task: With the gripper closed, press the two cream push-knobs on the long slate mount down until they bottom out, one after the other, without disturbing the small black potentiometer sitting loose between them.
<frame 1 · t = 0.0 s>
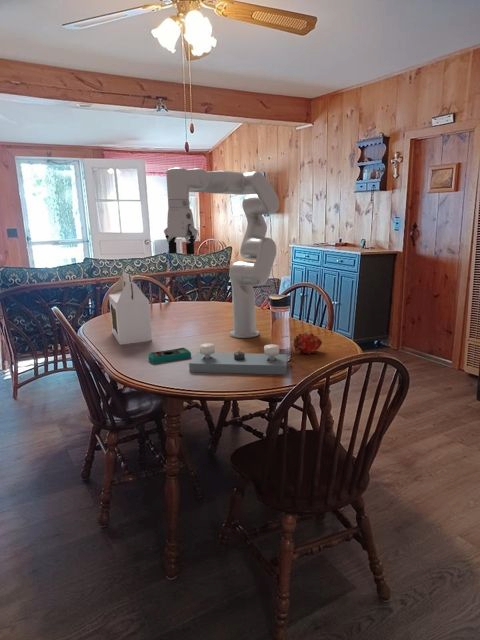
hand: (181, 253, 163), 37 cm above the table, tool pointing down, fingers open, 9 cm apart
knob a: (207, 353, 155), point 5 cm above the table, slide at 0.0 cm
digital multimeter: (170, 359, 166), on the table
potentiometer: (239, 358, 154), point 3 cm above the table, touching mount board
mount board: (239, 367, 154), on the table
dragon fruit: (307, 353, 168), on the table
knob b: (271, 354, 152), point 5 cm above the table, slide at 0.0 cm
gable box: (131, 337, 197), on the table
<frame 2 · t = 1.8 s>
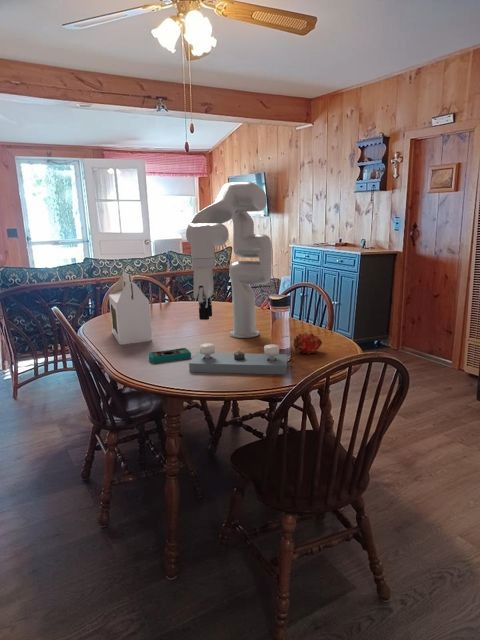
hand: (205, 317, 152), 17 cm above the table, tool pointing down, fingers open, 4 cm apart
nothing on the table moved.
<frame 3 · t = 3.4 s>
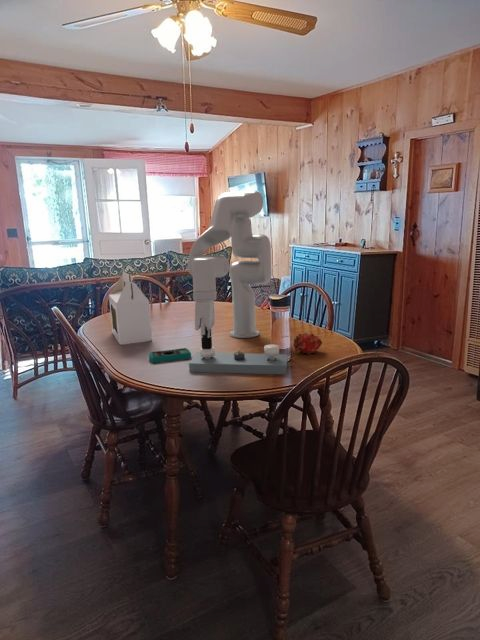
hand: (206, 348, 154), 7 cm above the table, tool pointing down, fingers closed
knob a: (207, 355, 155), point 4 cm above the table, slide at 1.0 cm, touching gripper
everything else where it was.
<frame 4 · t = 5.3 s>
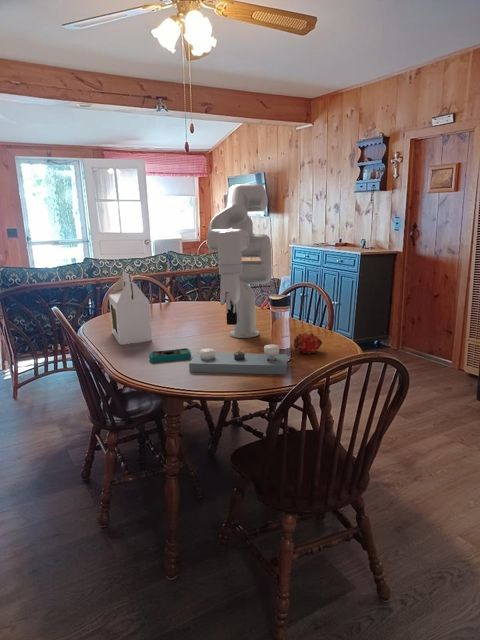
hand: (232, 324, 151), 15 cm above the table, tool pointing down, fingers closed
knob a: (207, 358, 155), point 3 cm above the table, slide at 1.8 cm
everything else where it was.
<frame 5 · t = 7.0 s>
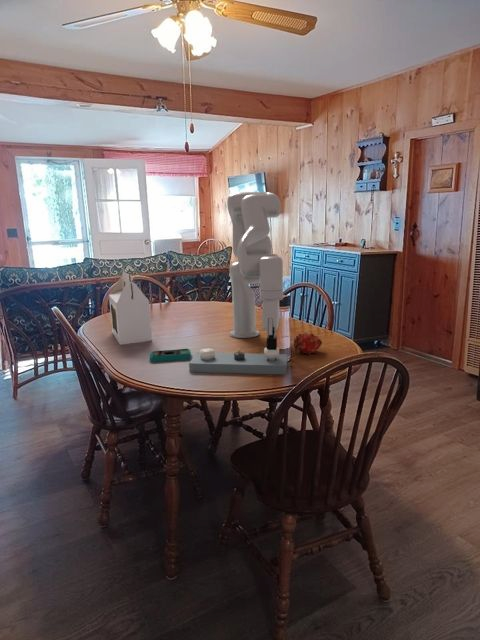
hand: (271, 348, 151), 7 cm above the table, tool pointing down, fingers closed
knob b: (271, 356, 152), point 4 cm above the table, slide at 0.8 cm, touching gripper
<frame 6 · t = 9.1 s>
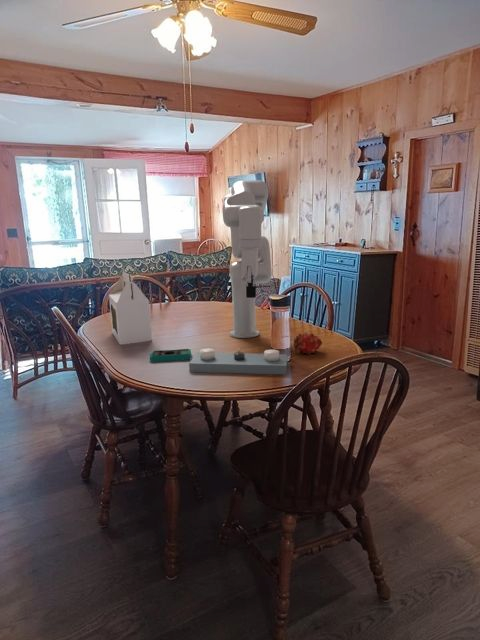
hand: (251, 297, 157), 23 cm above the table, tool pointing down, fingers closed
knob b: (271, 359, 152), point 3 cm above the table, slide at 1.8 cm
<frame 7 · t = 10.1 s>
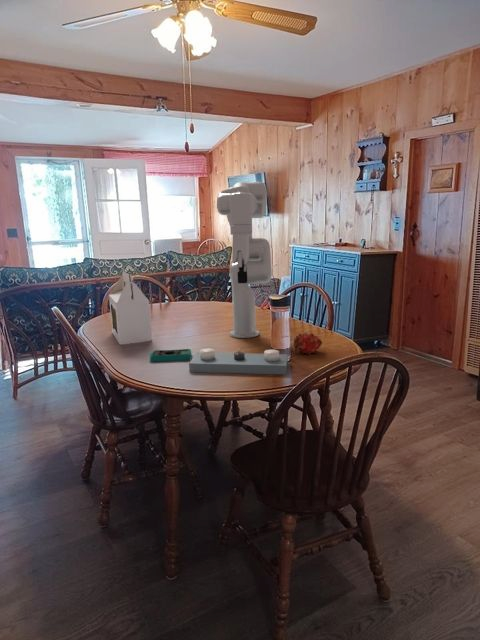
hand: (242, 282, 160), 27 cm above the table, tool pointing down, fingers closed
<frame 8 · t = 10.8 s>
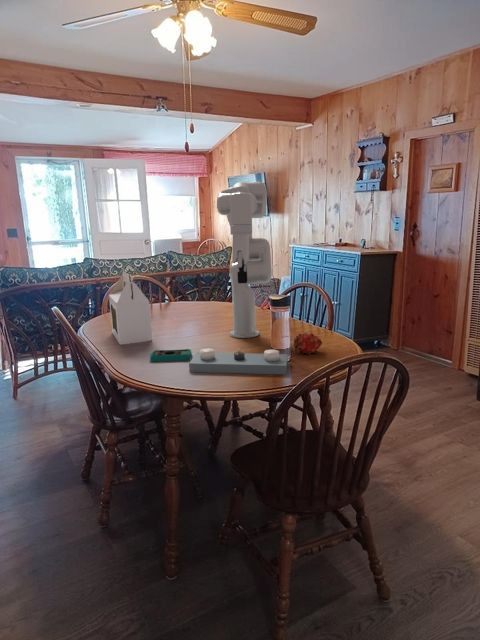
hand: (242, 282, 160), 27 cm above the table, tool pointing down, fingers closed
at the end: knob a slide at 1.8 cm; knob b slide at 1.8 cm; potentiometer moved 0.1 cm from its start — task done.
